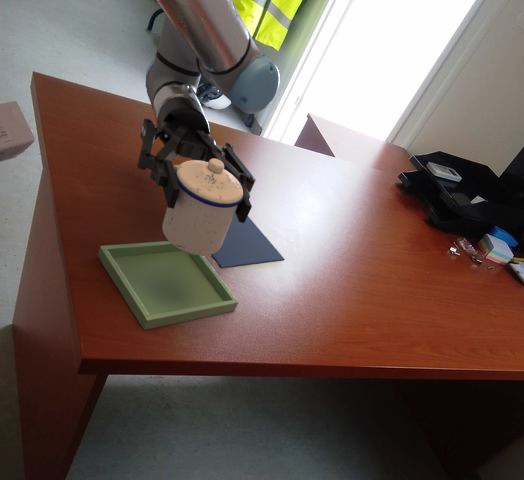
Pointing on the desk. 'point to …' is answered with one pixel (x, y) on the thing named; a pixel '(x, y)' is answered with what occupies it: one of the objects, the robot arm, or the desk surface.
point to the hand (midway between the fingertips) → (211, 206)
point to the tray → (166, 283)
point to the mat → (245, 246)
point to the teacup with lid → (202, 206)
